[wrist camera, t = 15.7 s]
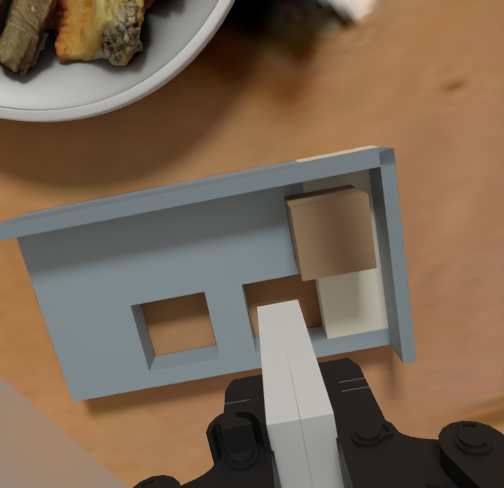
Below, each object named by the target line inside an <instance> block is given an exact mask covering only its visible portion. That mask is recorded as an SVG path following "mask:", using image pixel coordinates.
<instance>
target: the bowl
mask: <svg viewBox="0 0 504 488" xmlns="http://www.w3.org/2000/svg"><path fill="white" fill-rule="evenodd" d="M234 1H235V0H0V118H1V119H8V120H16V121H28V122H59V121H71V120H78V119H85V118H89V117H94V116H98V115H102V114H105V113H109V112H112V111H115V110H117V109H120V108H123V107H125V106H127V105H130V104H132V103H134V102H136V101H138V100H140V99H142V98H144V97H146V96H148V95H149V94H151V93H153V92H154V91H156V90H157V89H159V88H161V87H162V86H163V85H165V84H166V83H167V82H169V81H170V80H172V79H173V78H174V77H175V76H176V75H178V74H179V73H180V72H181V71H182V70H184V69H185V68H186V67H187V66H188V65H189V64H190V63H191V62H192V61H193V60H194V59H195V58H196V57H197V56H198V54H199V53H200V52H201V51H202V50H203V49H204V48H205V46H206V45H207V44H208V43H209V41H210V40H211V39H212V37H213V36H214V35H215V33H216V32H217V30H218V29H219V27H220V26H221V24H222V23H223V21H224V19H225V18H226V16H227V14H228V13H229V11H230V9H231V7H232V5H233V3H234Z"/></svg>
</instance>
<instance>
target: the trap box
mask: <svg viewBox="0 0 504 488" xmlns="http://www.w3.org/2000/svg"><path fill="white" fill-rule="evenodd" d="M345 185H352V186H354V187H356V188H358V189H359V190H361V191H363V192H365V193H367V194H368V195H369V204H370V212H371V221H372V230H373V238H374V247H375V255H376V264H377V268H374V269H369V270H363V271H358V272H352V273H347V274H341V275H335V276H330V277H324V278H319V279H315V283H316V289H317V295H318V301H319V307H320V313H321V320H322V326H318V327H313V328H307V331H308V334H309V337H310V340H311V343H312V347H313V350H314V353H315V356H316V358H318V357H323V356H329V355H334V354H340V353H345V352H351V351H356V350H362V349H367V348H373V347H379V346H384V345H391V346H392V348H393V349H394V350H395V352H396V353H397V355H398V356H399V358H400V359H401V361H402V362H403V363H407V362H413V361H416V354H415V344H414V335H413V325H412V316H411V307H410V297H409V288H408V278H407V269H406V259H405V250H404V241H403V231H402V222H401V212H400V203H399V193H398V184H397V174H396V165H395V156H394V149H392V148H385V147H378V146H365V147H360V148H355V149H350V150H345V151H340V152H335V153H330V154H325V155H320V156H314V157H309V158H304V159H299V160H294V161H289V162H284V163H279V164H274V165H269V166H263V167H258V168H253V169H248V170H243V171H238V172H233V173H228V174H223V175H218V176H212V177H207V178H202V179H197V180H192V181H187V182H182V183H177V184H172V185H167V186H161V187H156V188H151V189H146V190H141V191H136V192H131V193H126V194H121V195H116V196H110V197H105V198H100V199H95V200H90V201H85V202H80V203H75V204H70V205H65V206H59V207H54V208H49V209H44V210H39V211H34V212H29V213H25V214H22V215H20V216H17V217H15V218H12V219H10V220H7V221H5V222H2V223H0V240H5V239H11V238H17V240H18V243H19V246H20V249H21V252H22V255H23V258H24V261H25V264H26V267H27V270H28V273H29V275H30V278H31V281H32V284H33V287H34V290H35V293H36V296H37V299H38V302H39V305H40V308H41V311H42V313H43V316H44V319H45V322H46V325H47V328H48V331H49V334H50V337H51V340H52V343H53V346H54V348H55V351H56V354H57V357H58V360H59V363H60V366H61V369H62V372H63V375H64V378H65V381H66V384H67V386H68V389H69V392H70V395H71V398H72V401H73V402H75V401H81V400H86V399H92V398H97V397H103V396H108V395H114V394H119V393H125V392H130V391H136V390H141V389H147V388H152V387H158V386H163V385H169V384H174V383H180V382H185V381H191V380H196V379H202V378H208V377H213V376H219V375H224V374H230V373H235V372H241V371H246V370H252V369H257V368H262V362H261V349H260V337H258V338H255V335H254V331H253V326H252V321H251V316H250V311H249V307H248V302H247V297H246V292H245V288H244V284H248V283H254V282H259V281H264V280H270V279H275V278H280V277H286V276H291V275H296V274H300V273H299V270H298V268H297V265H296V263H295V260H294V255H293V249H292V243H291V237H290V231H289V225H288V219H287V213H286V207H285V201H284V197H285V196H291V195H296V194H301V193H307V192H312V191H318V190H323V189H328V188H334V187H339V186H345ZM200 292H205V297H206V301H207V305H208V309H209V314H210V318H211V322H212V326H213V331H214V335H215V339H216V343H217V345H215V346H209V347H204V348H198V349H193V350H187V351H182V352H176V353H171V354H166V355H160V356H155V354H154V350H153V347H152V343H151V340H150V336H149V332H148V329H147V325H146V322H145V318H144V314H143V311H142V307H141V304H142V303H147V302H152V301H158V300H163V299H168V298H174V297H179V296H184V295H190V294H195V293H200Z"/></svg>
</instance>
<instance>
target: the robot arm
mask: <svg viewBox="0 0 504 488" xmlns="http://www.w3.org/2000/svg"><path fill="white" fill-rule="evenodd" d="M257 310H258V323H259V336H260V349H261V362H262V375H257V376H251V377H246V378H240V379H235V380H232V382H231V383H230V385H229V386H228V388H227V389H226V391H225V405H224V413H222V414H221V415H219V416H217V417H216V418H215V419H214V420H213V421H212V422H211V423H210V424H209V426H208V429H207V431H206V434H207V438H208V442H209V446H210V450H211V454H212V458H213V462H214V466H213V467H212V468H211V469H210V470H209V471H208V472H206V473H205V474H204V475H202V476H200V477H199V478H197V479H195V480H193V481H190V482H188V483H186V484H184V485H181V486H180V483H179V482H178V481H177V480H176V479H175V478H174V477H171V476H166V475H160V476H153V477H150V478H148V479H146V480H143V481H141V482H140V483H138V484H137V485H136V486H134V487H133V488H504V435H503V434H502V433H501V432H499V431H497V430H496V429H494V428H492V427H491V426H489V425H486V424H482V423H479V422H474V421H460V422H455V423H451V424H449V425H447V426H446V427H444V428H443V429H442V430H441V432H440V434H439V435H438V437H439V440H437V439H422V438H415V437H410V436H407V435H404V434H401V433H400V432H398V430H397V429H396V428H395V427H394V426H393V424H392V423H390V422H388V421H386V420H385V418H384V416H383V414H382V412H381V410H380V408H379V406H378V404H377V402H376V400H375V397H374V395H373V393H372V391H371V389H370V387H369V385H368V383H367V381H366V379H365V378H364V375H363V373H362V371H361V369H360V367H359V365H357V364H356V363H354V362H353V361H352V360H350V359H349V358H345V359H339V360H333V361H328V362H322V363H318V362H317V359H316V356H315V353H314V350H313V347H312V343H311V340H310V337H309V334H308V331H307V328H306V324H305V321H304V318H303V315H302V312H301V308H300V305H299V302H298V300H293V301H287V302H282V303H276V304H271V305H266V306H260V307H257Z"/></svg>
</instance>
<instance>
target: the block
mask: <svg viewBox="0 0 504 488" xmlns="http://www.w3.org/2000/svg"><path fill="white" fill-rule="evenodd" d="M284 201H285V207H286V213H287V219H288V225H289V231H290V237H291V243H292V249H293V255H294V260H295V263H296V265H297V268H298V270H299V273H300V276H301V278H302V281H308V280H313V279H319V278H324V277H330V276H335V275H341V274H347V273H352V272H358V271H363V270H369V269H374V268H377V264H376V255H375V247H374V238H373V230H372V221H371V212H370V204H369V195H368V194H367V193H365V192H363V191H361V190H359V189H358V188H356V187H354V186H352V185H345V186H339V187H334V188H328V189H323V190H318V191H312V192H307V193H301V194H296V195H291V196H285V197H284Z"/></svg>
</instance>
